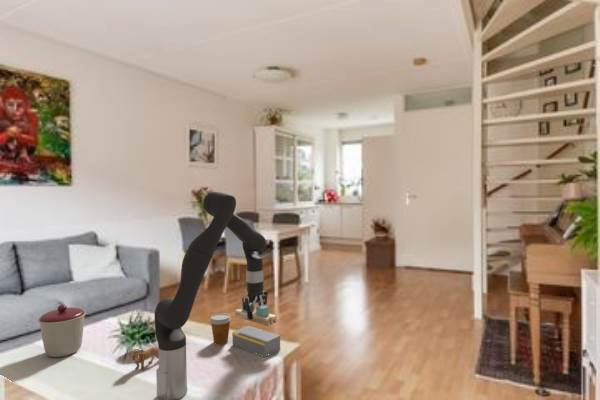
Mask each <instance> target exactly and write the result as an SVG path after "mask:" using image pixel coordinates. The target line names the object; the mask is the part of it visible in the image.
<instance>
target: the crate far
mask: <svg viewBox="0 0 600 400" xmlns="http://www.w3.org/2000/svg"><path fill="white" fill-rule="evenodd" d="M250 304H252V303H251V302H250ZM250 307H251V306H250ZM241 308H242V311H244V312H247V311H245V310H244V309H243V302H242V303H241ZM254 309H255V306H254V307H253V309H252V311H254Z"/></svg>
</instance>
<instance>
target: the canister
mask: <svg viewBox="0 0 600 400" xmlns="http://www.w3.org/2000/svg"><path fill="white" fill-rule="evenodd" d="M86 314H87V311H86V309H85V310H84V309H82V308H80V307H79V308H78V307H68V306H67V305H66V304H61V305H58V306H57V308H56V309H53V310H50V311H48V312H46V313H43V314H42V315H41V316H39V317H38V318H37V322H38V324H39V326H40V327H39V328H40V332H41V338H42V344H43V349H44V352H45V354H46V356H48V357H50V358H51V357H52V358H62V357H67V356H70V355H73V354H75V353H76V352H78V351H79V350H80V348H81V346H82V343H83V335H84V327H85V325H84V324H85V316H86Z"/></svg>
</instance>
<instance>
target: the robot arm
mask: <svg viewBox="0 0 600 400" xmlns="http://www.w3.org/2000/svg"><path fill="white" fill-rule="evenodd" d="M202 202H203V203H202V204H203V209H204V210H205V213H206V214H208V215H210V216H211V217H213V218H212V220H211V222H210V223H209V225H208V226H207V227H206V229H205V228H204V230H203V231H202V232H201V233H200V234H198V235H197V236H196V237H195V238H193V240H192V241H191V242H190V244H189V246H188V248H187V250H186V252H185V254H184V257H183V259H182V262H181V269H180V270H181V271H180V283H179V287H178V289H177V291H176V293H175V296H174V298H173V297H166V298H163V299H161V300H160V301H158V303H157V305H156V307H155V310H154V329H155V333H156V339H157V346H158V347H157V348H158V355H159V358H158V368H156V373H155V375H156V396H157V397H158V398H159V399H161V400H178V399H181V398H183V397H185V395H187V394H188V378H187V377H188V374H187V373H188V371H187V366H188V365H187V336H186V334H185V333H184V331H183V330H182V328H183V326H185V325H186V323H187V322H188V320H189V318H190V315H191V312H192V310H193V307H194V303H195V301H196V297H197V294H198V291H199V288H200V287H201V283H202V281H203V279H204V278H205V277H204V276H205V275H206V272H207V270H208V268H209V266H210V263H211V261H212V259H213V256H214V253H215V252H216V249H217V246H218V244H219V242H220V239H221V238H222V236H223V233H224V232H225V229H226V228H228V229H229V230H230V231H231V232H232V233H233V235H234V236H236V237H237V239H238V240H239V241H240V242H242V249H243V252H244V257H245V260H246V261H245V262H246V275H245V276H246V291H247V295H246V297H244V296H243V297H242V298H241V299H242V303H243V309H244V310H245V311H247V317H248V319H250V320H252V315H253V314H252V309H253V307H254V308H255V305H256V304H257V305H258V306H261V305H265V306H267V305H268V295H269V294H268V291H266V290H264V270H263V268H264V266H263V265H264V264H263V258H262V257H261V256H259V255H257V254H255V252H258V253H259V252H263V251H264V250H265V249H266V247H267V241H266V238H265V237H264V235H263V234H261V233H259V232H258V231H256V230H254V229H253V228H252V226H250V224H248V222H247V221H246V220H244V219H243V218H242V217H240V216H239V215H237V214H235V210H236V206H237V199H236V197H235V196H234V195H232V194H229V193H225V192H220V191H210V192H208V193H207V194H206V196H204V198H203V201H202ZM250 302H251V303H252V304H250ZM250 306H251V307H250Z"/></svg>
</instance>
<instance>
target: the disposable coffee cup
mask: <svg viewBox="0 0 600 400" xmlns="http://www.w3.org/2000/svg"><path fill="white" fill-rule="evenodd" d="M231 319H232V318H231V315H230V313H229V314H228V313H223V312H221V313H215V314H213V315H211V317H210V319H209V322H210V324H211V330H212V337H213V343H216V344H215V345H217V344H222V345H225V344H227V343H228V342H229V333H230V323H231ZM224 343H225V344H224Z"/></svg>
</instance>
